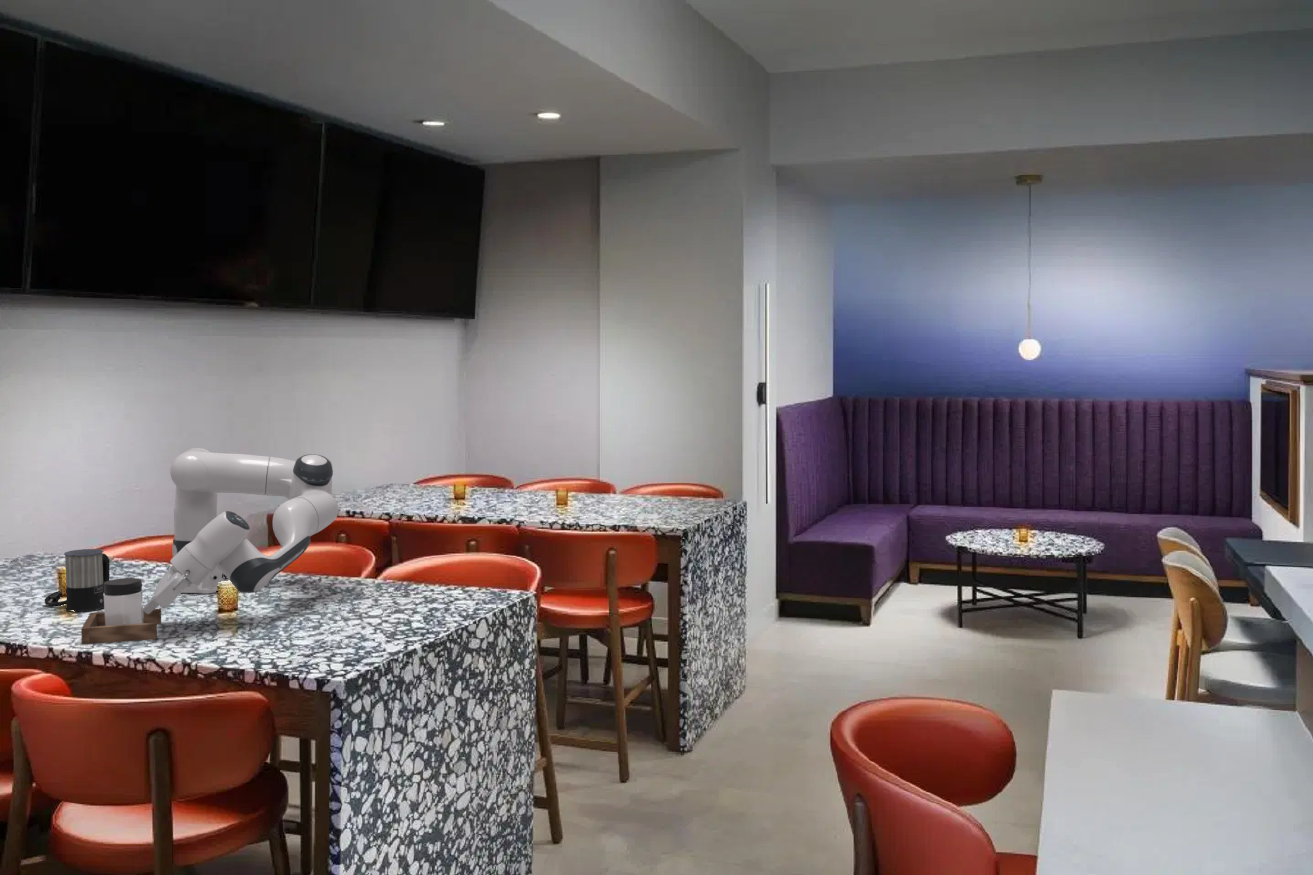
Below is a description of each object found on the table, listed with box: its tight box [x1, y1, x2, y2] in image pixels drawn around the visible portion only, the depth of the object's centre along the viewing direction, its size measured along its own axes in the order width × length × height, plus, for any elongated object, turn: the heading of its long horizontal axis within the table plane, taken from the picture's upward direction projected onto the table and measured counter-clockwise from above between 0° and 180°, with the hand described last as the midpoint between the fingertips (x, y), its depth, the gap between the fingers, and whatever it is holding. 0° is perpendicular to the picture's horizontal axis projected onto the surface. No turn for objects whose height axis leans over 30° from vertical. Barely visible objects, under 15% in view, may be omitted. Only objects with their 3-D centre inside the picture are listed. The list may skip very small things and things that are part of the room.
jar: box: [103, 577, 144, 626], centre depth 268 cm, size 9×8×12 cm
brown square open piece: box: [80, 608, 162, 645], centre depth 268 cm, size 16×17×4 cm
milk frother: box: [44, 548, 111, 612], centre depth 294 cm, size 14×16×15 cm
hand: (145, 611), depth 269 cm, fingers closed
